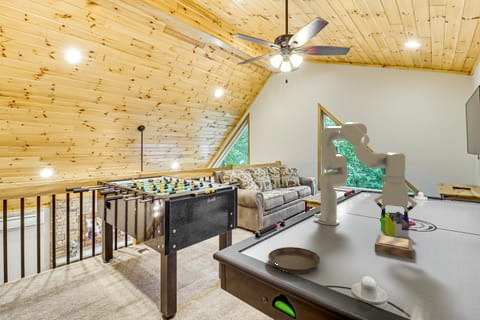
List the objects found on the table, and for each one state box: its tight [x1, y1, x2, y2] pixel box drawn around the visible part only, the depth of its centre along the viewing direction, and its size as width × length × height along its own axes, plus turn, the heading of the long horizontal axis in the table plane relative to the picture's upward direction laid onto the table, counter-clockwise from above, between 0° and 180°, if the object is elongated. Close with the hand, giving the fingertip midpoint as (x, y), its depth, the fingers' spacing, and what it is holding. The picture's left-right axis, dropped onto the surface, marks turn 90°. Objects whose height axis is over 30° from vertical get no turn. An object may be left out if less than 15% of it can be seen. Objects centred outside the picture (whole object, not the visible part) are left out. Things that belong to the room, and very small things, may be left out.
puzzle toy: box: [380, 211, 410, 238], centre depth 135 cm, size 10×10×10 cm
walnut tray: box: [374, 234, 414, 260], centre depth 113 cm, size 14×14×4 cm
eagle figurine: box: [385, 211, 411, 229], centre depth 110 cm, size 8×7×9 cm
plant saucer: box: [267, 246, 321, 275], centre depth 100 cm, size 21×21×3 cm
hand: (394, 218), depth 112 cm, fingers closed on eagle figurine, 7 cm apart
